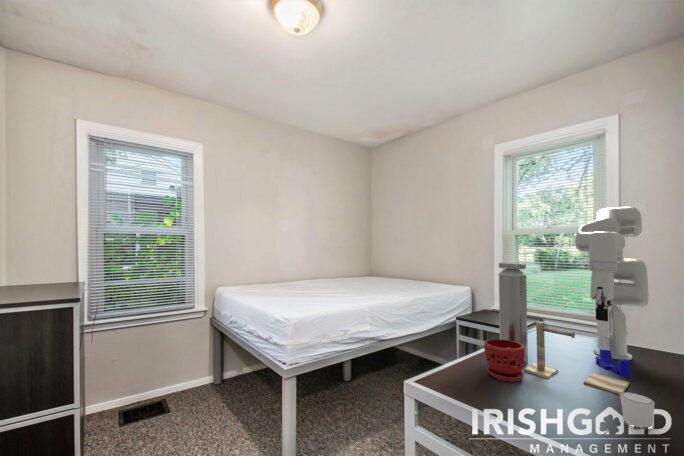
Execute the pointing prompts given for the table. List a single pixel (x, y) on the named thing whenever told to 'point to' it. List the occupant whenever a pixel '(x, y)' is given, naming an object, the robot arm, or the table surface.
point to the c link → (605, 325)
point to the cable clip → (608, 363)
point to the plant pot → (505, 359)
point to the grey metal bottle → (513, 304)
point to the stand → (543, 353)
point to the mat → (606, 383)
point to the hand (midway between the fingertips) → (604, 318)
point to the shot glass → (637, 409)
